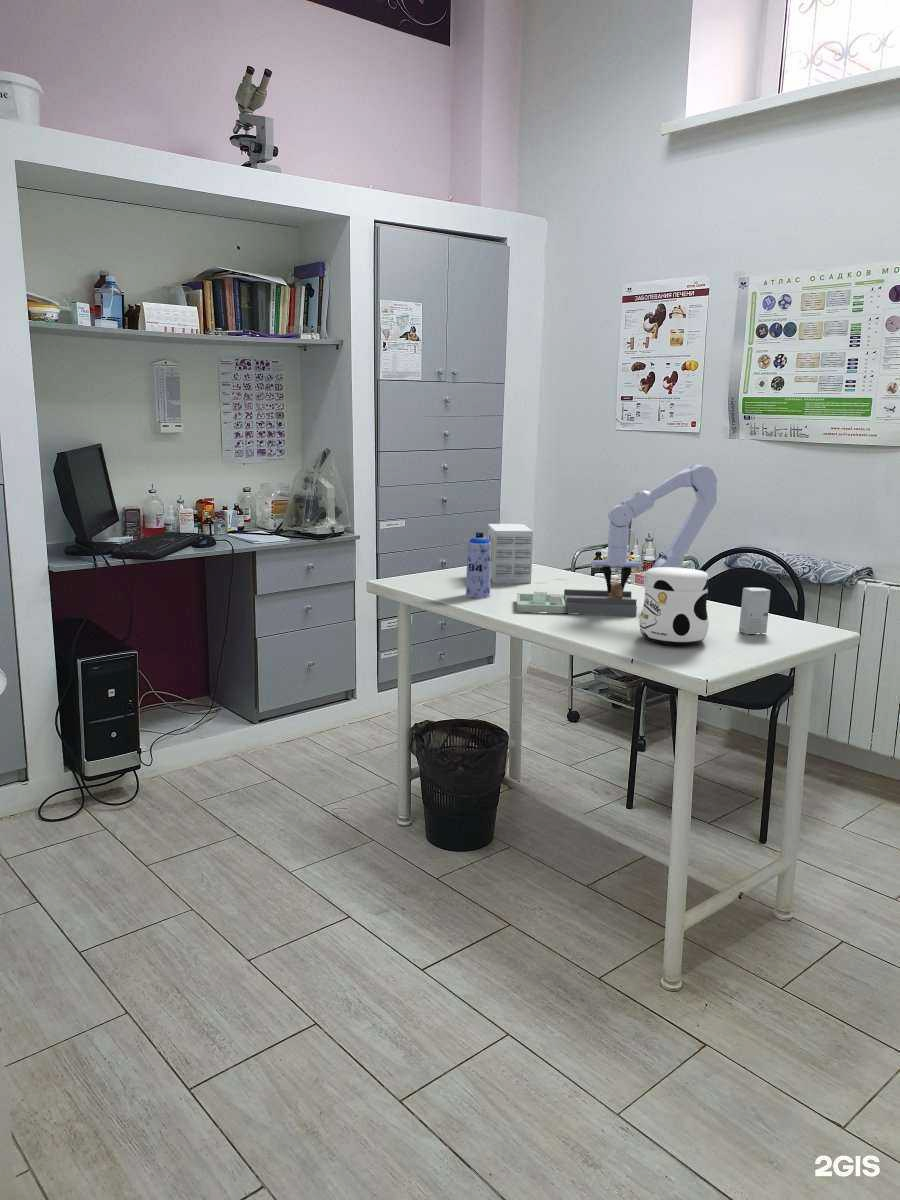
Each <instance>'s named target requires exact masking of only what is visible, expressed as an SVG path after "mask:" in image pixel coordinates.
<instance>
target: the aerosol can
mask: <svg viewBox="0 0 900 1200" xmlns="http://www.w3.org/2000/svg"><path fill="white" fill-rule="evenodd" d="M466 547H467V548H466V578H465V579H466V580H465V582H466V585H465V588H466V589H465V595H466V596H467V598H469V597H472V598H471V599H487V598H486V597H489V598H491V578H490V576H491V542H489V540H488V537H486V536H484V532H475V536H473V537H471V538H470V539H469V541H467V546H466ZM466 596H465V597H466Z"/></svg>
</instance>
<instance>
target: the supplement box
mask: <svg viewBox="0 0 900 1200" xmlns="http://www.w3.org/2000/svg"><path fill="white" fill-rule="evenodd" d="M487 539H488V540H489V542H491V576H490V581H491V582H492V583H493V584H531V583H532V573H533V572H532V571H533V569H532V567H533V548H534V547H533V546H534V545H533V544H534V530H533V529H531V528H530V527H528V526H527V525H526V524H524V523H488V524H487Z"/></svg>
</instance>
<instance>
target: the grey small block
mask: <svg viewBox="0 0 900 1200" xmlns="http://www.w3.org/2000/svg"><path fill="white" fill-rule="evenodd" d="M532 594H533V604H541V605H546V603H547V594H548V591H547V592H546V591H533V593H532Z"/></svg>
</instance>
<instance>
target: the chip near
mask: <svg viewBox="0 0 900 1200" xmlns="http://www.w3.org/2000/svg"><path fill="white" fill-rule="evenodd" d="M549 594H550V597H549V605H560V604H561V596H560V595H561V594H559V593H549Z"/></svg>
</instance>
